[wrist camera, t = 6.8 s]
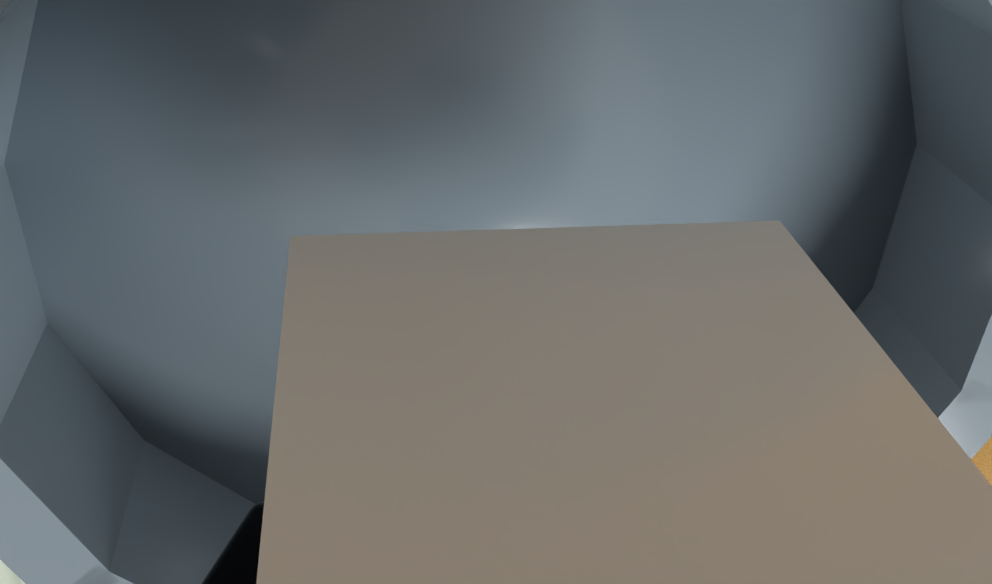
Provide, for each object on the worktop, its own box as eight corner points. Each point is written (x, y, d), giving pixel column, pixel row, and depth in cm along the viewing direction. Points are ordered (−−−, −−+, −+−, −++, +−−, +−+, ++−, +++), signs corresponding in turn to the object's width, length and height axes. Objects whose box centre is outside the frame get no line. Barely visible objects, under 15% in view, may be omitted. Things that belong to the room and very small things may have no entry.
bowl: (821, 506, 19) (909, 660, 16) (75, 561, 17) (18, 748, 14) (1095, -358, 11) (1368, -371, 8) (-225, -431, 9) (-496, -480, 6)
